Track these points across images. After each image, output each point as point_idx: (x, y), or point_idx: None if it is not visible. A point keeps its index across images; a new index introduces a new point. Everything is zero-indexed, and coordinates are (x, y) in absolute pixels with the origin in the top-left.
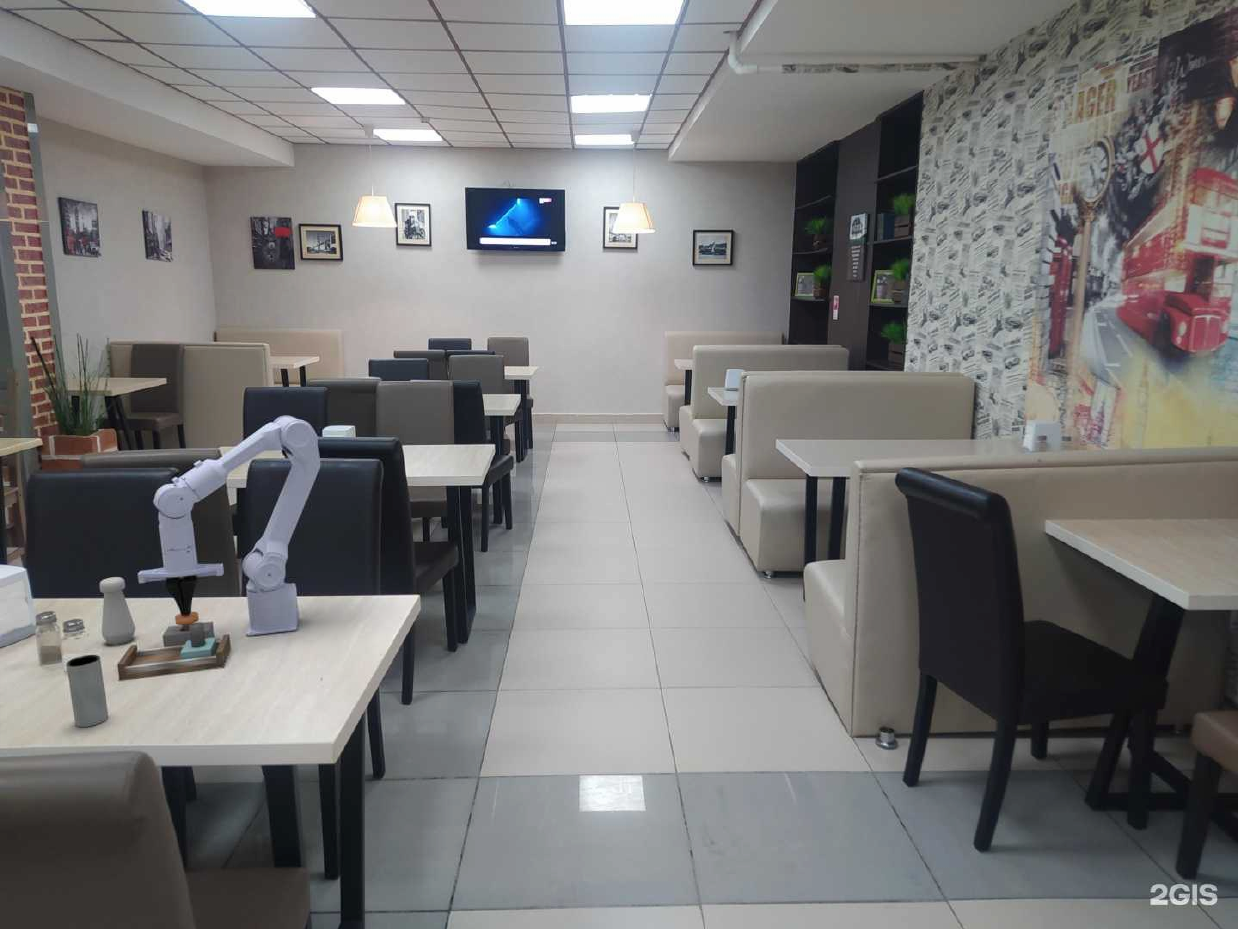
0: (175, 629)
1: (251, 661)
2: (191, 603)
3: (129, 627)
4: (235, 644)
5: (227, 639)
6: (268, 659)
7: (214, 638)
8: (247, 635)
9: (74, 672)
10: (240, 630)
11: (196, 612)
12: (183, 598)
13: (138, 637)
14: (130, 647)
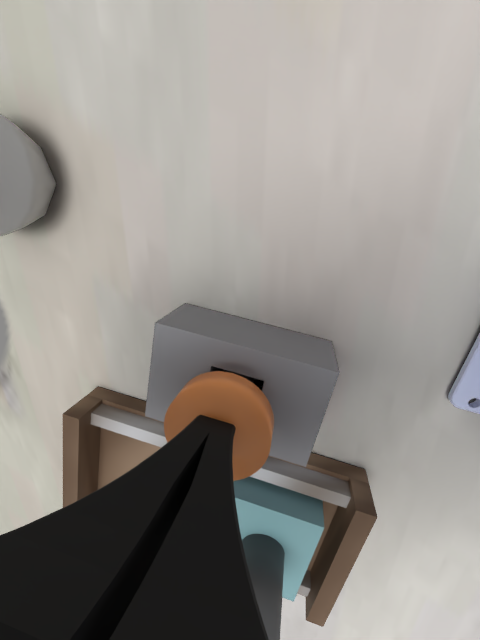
0: (184, 378)
1: (398, 582)
2: (231, 458)
3: (7, 211)
4: (387, 441)
5: (360, 546)
6: (446, 600)
7: (317, 534)
8: (451, 402)
9: None
10: (445, 308)
11: (263, 424)
12: (169, 522)
13: (73, 166)
14: (65, 431)
